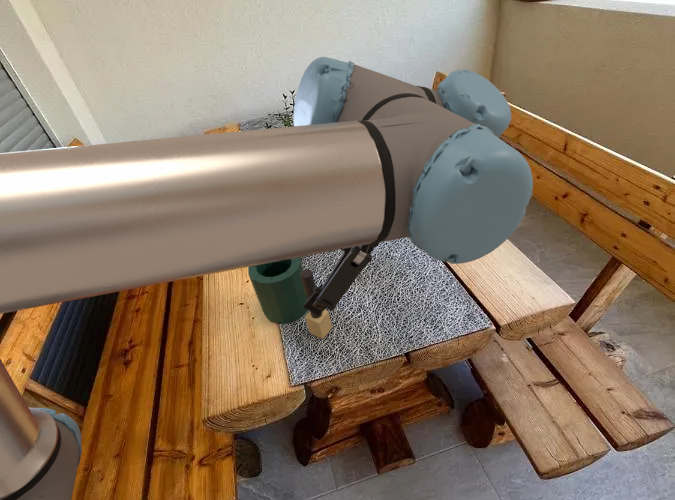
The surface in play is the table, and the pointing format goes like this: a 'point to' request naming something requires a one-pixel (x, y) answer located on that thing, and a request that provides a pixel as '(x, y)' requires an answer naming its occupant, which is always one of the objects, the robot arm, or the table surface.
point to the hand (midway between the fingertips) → (326, 276)
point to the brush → (314, 322)
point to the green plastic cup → (279, 289)
